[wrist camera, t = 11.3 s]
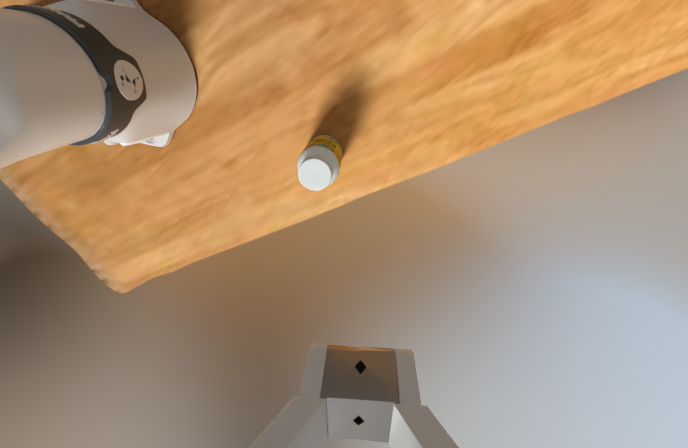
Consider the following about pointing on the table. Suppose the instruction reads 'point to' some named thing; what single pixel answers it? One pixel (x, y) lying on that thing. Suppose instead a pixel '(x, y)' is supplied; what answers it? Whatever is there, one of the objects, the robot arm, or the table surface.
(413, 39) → the table surface
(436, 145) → the table surface
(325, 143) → the supplement bottle
